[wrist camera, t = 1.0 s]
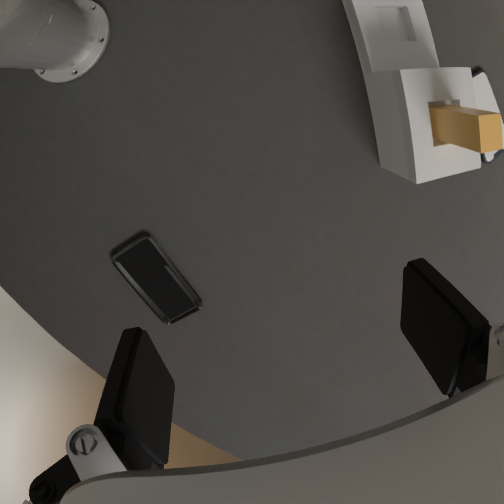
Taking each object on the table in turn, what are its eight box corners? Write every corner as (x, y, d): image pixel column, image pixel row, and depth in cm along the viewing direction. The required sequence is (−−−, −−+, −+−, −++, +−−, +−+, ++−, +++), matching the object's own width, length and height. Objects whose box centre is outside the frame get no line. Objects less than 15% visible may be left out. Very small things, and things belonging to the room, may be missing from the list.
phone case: (450, 84, 39) (480, 164, 45) (456, 84, 37) (486, 167, 44) (478, 67, 37) (505, 143, 43) (484, 67, 36) (511, 145, 42)
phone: (166, 326, 51) (108, 258, 45) (167, 322, 52) (110, 255, 46) (205, 306, 50) (148, 232, 44) (205, 302, 51) (149, 229, 45)
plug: (424, 106, 32) (478, 115, 23) (446, 104, 32) (500, 113, 23) (428, 137, 34) (481, 153, 25) (450, 133, 34) (502, 148, 25)
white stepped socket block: (336, -15, 31) (366, -38, 22) (405, -13, 30) (443, -28, 21) (380, 166, 43) (416, 184, 34) (440, 152, 43) (480, 167, 34)
